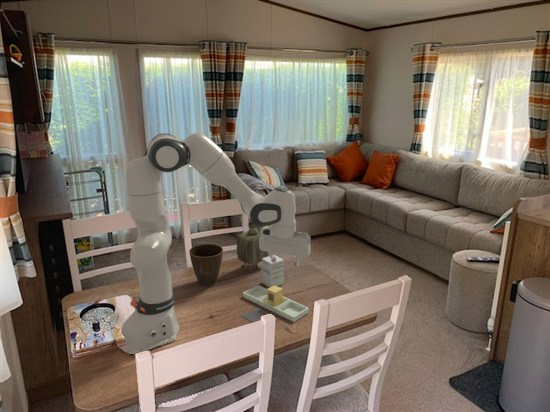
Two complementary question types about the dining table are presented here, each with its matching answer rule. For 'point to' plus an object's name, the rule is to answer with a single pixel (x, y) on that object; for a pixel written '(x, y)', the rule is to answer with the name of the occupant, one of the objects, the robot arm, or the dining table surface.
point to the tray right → (292, 310)
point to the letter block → (274, 296)
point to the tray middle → (264, 304)
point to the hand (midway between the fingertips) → (284, 263)
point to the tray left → (255, 294)
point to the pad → (254, 314)
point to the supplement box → (272, 271)
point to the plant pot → (206, 262)
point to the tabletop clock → (250, 247)
